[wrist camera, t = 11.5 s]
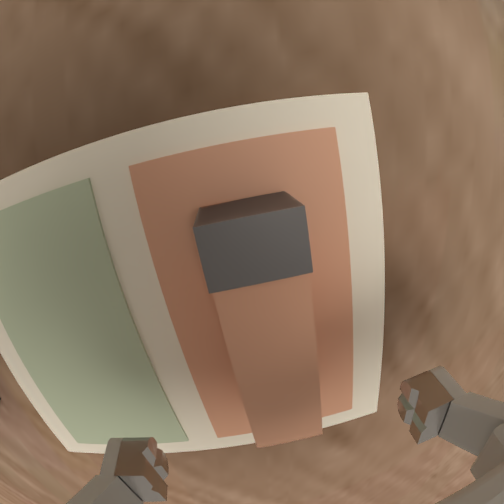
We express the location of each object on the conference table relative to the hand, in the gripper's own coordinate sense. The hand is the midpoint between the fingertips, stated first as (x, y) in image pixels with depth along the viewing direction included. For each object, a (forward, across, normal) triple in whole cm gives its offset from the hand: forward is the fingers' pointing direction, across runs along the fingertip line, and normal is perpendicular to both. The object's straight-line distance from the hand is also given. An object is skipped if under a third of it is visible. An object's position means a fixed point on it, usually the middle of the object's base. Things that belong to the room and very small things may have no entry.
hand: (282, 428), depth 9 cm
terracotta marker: (+7, 0, 0) cm, 7 cm away
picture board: (+8, +5, 0) cm, 10 cm away
